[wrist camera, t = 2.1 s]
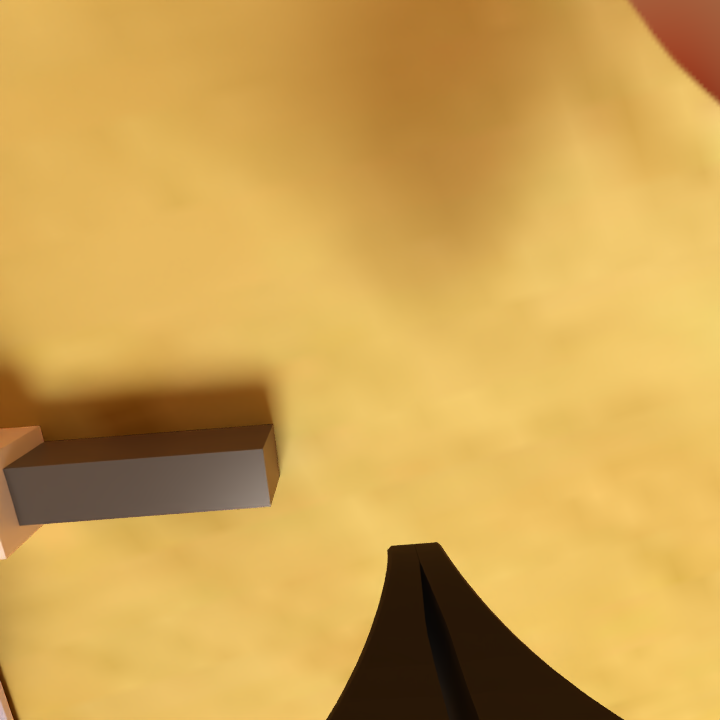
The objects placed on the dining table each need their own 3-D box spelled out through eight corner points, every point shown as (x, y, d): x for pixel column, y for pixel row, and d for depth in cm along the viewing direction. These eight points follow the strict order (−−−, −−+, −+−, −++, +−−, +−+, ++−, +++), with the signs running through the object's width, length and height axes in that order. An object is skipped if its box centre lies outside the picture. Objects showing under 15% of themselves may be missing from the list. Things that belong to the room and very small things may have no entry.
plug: (281, 490, 21) (268, 538, 17) (-26, 513, 21) (-99, 567, 17) (271, 407, 20) (255, 441, 16) (-53, 432, 20) (-136, 472, 16)
